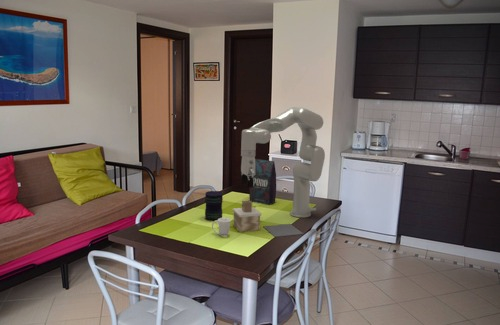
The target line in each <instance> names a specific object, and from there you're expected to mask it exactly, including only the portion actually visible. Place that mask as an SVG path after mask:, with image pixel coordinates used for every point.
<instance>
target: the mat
mask: <svg viewBox="0 0 500 325" xmlns="http://www.w3.org/2000/svg"><path fill="white" fill-rule="evenodd" d="M262 228H264V229H265V230H266V231H267V232H269V233H270V234H271V235H272V236H273V237H274V238H279V237H281V238H282V237H290V236H291V237H292V236H299V235H304V233H303V232H302V231H300V230H299V229H298V228H296V227H295V226H294V225H292V224H291V223H284V224H273V225H265V226H264V225H263V227H262Z"/></svg>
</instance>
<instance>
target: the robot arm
mask: <svg viewBox="0 0 500 325" xmlns="http://www.w3.org/2000/svg"><path fill="white" fill-rule="evenodd" d="M294 124H297V125H298V127H299V128H300V131H301V134H302V135H301V136H302V137H301V142H300V146H299V154H298V155H299V156H298V157H299V158H300V159H301V160H302V161H301V162H296V163H295V164H294V165H293V167H292V176H293V194H292V195H293V197H292V198H293V199H292V210H290V212H289V215H290V216H292V217H295V218H301V219H302V218H309V217H311V216H312V212H316V211H317V208H316V207H312V206H310V193H311V183H310V182H317V181H318V180H319V179H320V178H321V176H322V172H323V167H324V164H325V158H326V154H325V149H324V148H323V147H321V146H319V145H316V144H317V139H318V135H317V131H318V130H320V129H321V128H322V127H323V126H324V118H323V117H322V116H321V115H320V114H319V113H316V112H314V111H312V110H309V109H307V108H304V107H290V108H288V109H286V110H285V111H283V112H281V113H280V114H278V115H277V116H275V117H272V118H269V119H266V120H263V121H260V122H257V123H256V124H254V125H253V126H251V127H249V128H247V129H242V131H241V142H240V143H241V145H240V146H241V148H240V156H241V164H240V172H241V173H240V175H241V176H240V178H241V179H240V183H241V184H246V185H247V186H246V188H248V189H249V188H251V187H253V182H254V175H255V159H256V158H255V157H256V148H257V145H256V144H267V143H269V142H270V141H271V140H272V134H271V133H280V132H284V131H285V130H286V129H288V128H290V127H291V126H292V125H294ZM304 161H306V162H304ZM307 162H308V163H307ZM309 162H310V163H309Z"/></svg>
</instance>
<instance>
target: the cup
mask: <svg viewBox="0 0 500 325" xmlns="http://www.w3.org/2000/svg"><path fill="white" fill-rule="evenodd" d="M231 222H232V219H231V218H228V217H222V218H219V219H218V220H216V221H212V224H211V228H212V230H213V231H214V232H215V234H217V235H219V236H220V237H227V236H228V237H229V233H230V228H231ZM215 223H218V224H217V225H218V231H219V232H218V231H217V230H216V229H215V228H214V224H215Z"/></svg>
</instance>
